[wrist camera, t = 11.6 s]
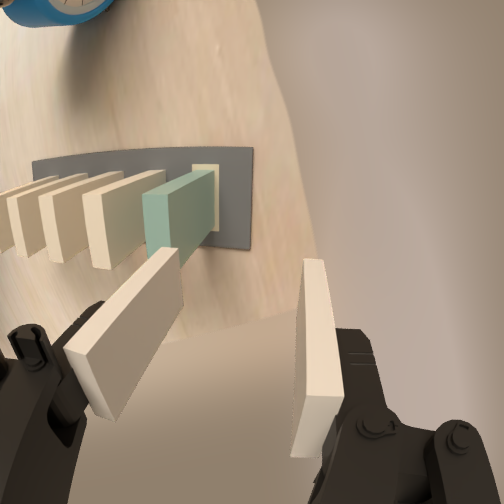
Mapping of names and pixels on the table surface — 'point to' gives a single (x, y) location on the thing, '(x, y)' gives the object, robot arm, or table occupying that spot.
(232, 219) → the mat
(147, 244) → the domino
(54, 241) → the domino
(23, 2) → the alarm clock
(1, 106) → the table surface
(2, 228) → the domino
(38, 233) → the domino
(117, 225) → the domino
